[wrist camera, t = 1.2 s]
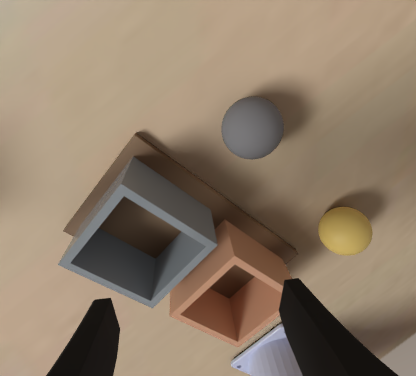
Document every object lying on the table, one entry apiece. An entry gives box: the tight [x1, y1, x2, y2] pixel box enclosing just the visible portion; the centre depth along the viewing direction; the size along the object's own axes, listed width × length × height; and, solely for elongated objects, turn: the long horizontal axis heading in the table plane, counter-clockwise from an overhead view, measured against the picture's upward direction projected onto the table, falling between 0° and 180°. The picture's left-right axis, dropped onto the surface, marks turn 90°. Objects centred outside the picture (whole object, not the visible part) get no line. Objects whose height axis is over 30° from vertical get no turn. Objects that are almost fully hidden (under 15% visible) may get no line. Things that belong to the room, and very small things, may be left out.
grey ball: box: [222, 97, 284, 159], centre depth 16 cm, size 4×4×4 cm
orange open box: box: [170, 220, 292, 347], centre depth 20 cm, size 7×7×4 cm
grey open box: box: [58, 157, 218, 308], centre depth 17 cm, size 7×7×4 cm
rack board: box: [63, 133, 298, 298], centre depth 21 cm, size 16×9×1 cm, turn 49°
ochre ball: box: [318, 207, 372, 255], centre depth 20 cm, size 4×4×4 cm
